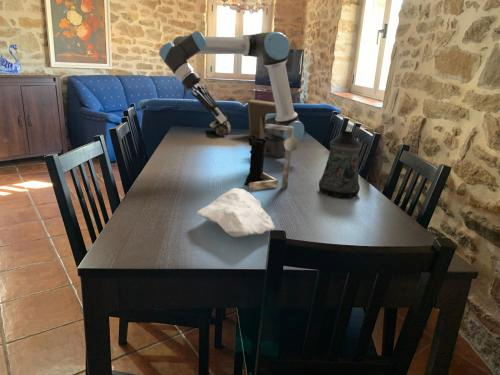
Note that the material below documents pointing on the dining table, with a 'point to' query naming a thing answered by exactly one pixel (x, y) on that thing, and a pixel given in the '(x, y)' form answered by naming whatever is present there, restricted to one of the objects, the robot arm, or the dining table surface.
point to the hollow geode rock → (221, 127)
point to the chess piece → (256, 159)
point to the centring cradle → (289, 146)
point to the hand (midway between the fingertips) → (223, 121)
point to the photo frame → (259, 115)
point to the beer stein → (342, 168)
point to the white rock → (238, 214)
